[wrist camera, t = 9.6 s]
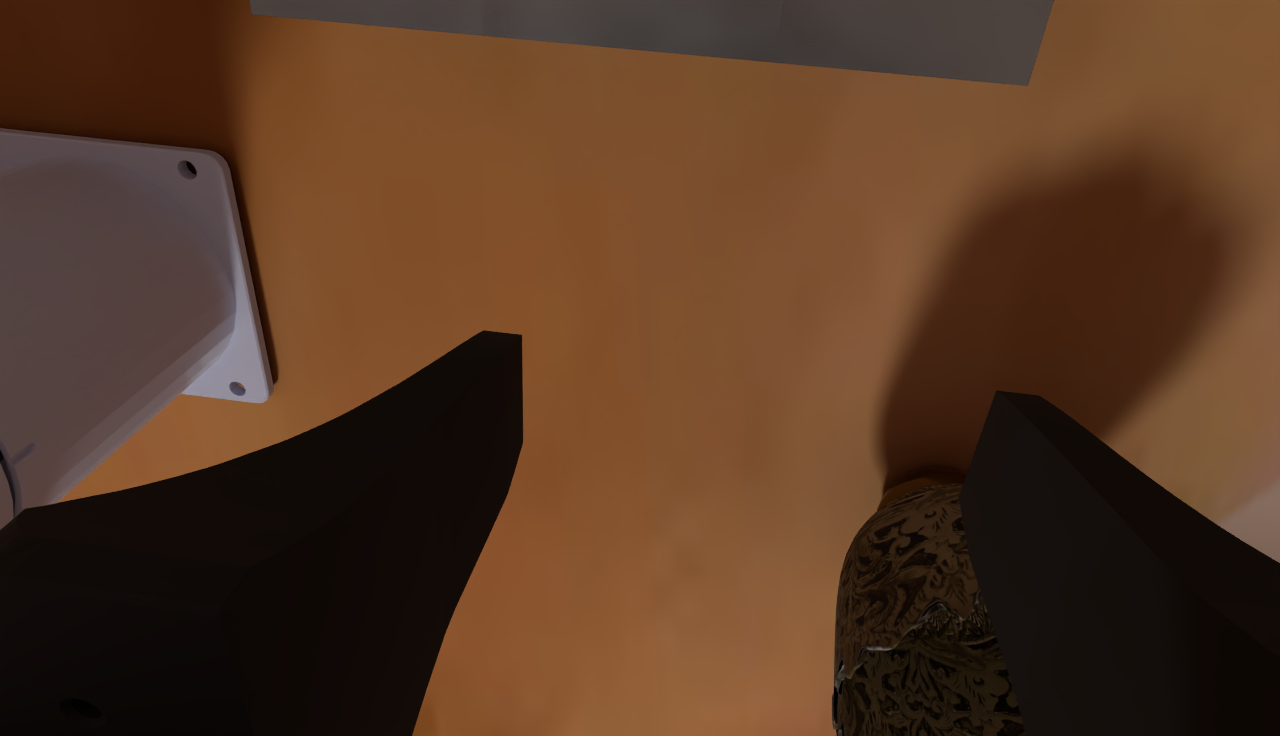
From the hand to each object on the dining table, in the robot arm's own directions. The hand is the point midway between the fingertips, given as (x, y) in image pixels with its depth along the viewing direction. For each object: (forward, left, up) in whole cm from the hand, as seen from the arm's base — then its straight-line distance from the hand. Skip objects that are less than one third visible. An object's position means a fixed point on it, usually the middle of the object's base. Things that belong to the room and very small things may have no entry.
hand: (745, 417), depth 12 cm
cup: (+7, -9, -10) cm, 15 cm away
